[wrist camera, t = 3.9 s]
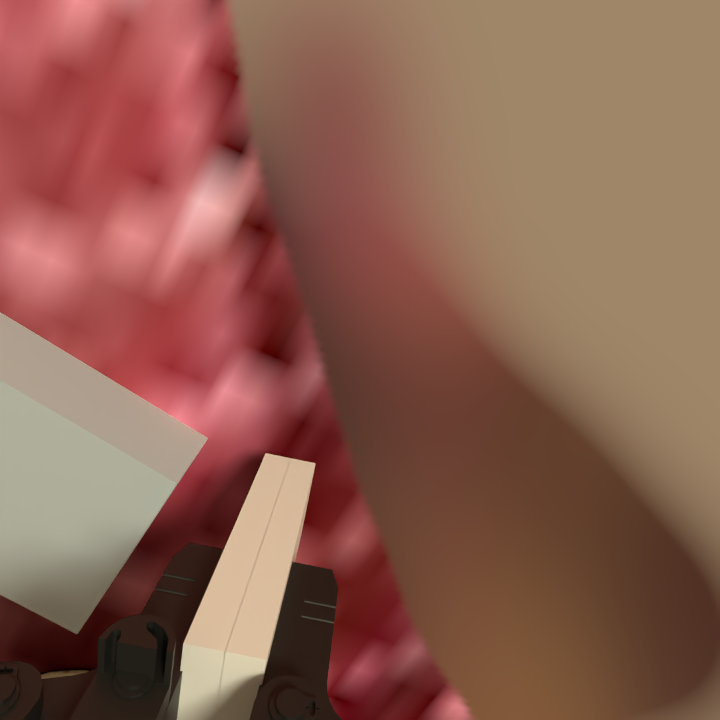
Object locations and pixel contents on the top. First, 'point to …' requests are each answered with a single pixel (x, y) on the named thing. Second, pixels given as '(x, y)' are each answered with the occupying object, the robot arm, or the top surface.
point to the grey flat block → (76, 476)
